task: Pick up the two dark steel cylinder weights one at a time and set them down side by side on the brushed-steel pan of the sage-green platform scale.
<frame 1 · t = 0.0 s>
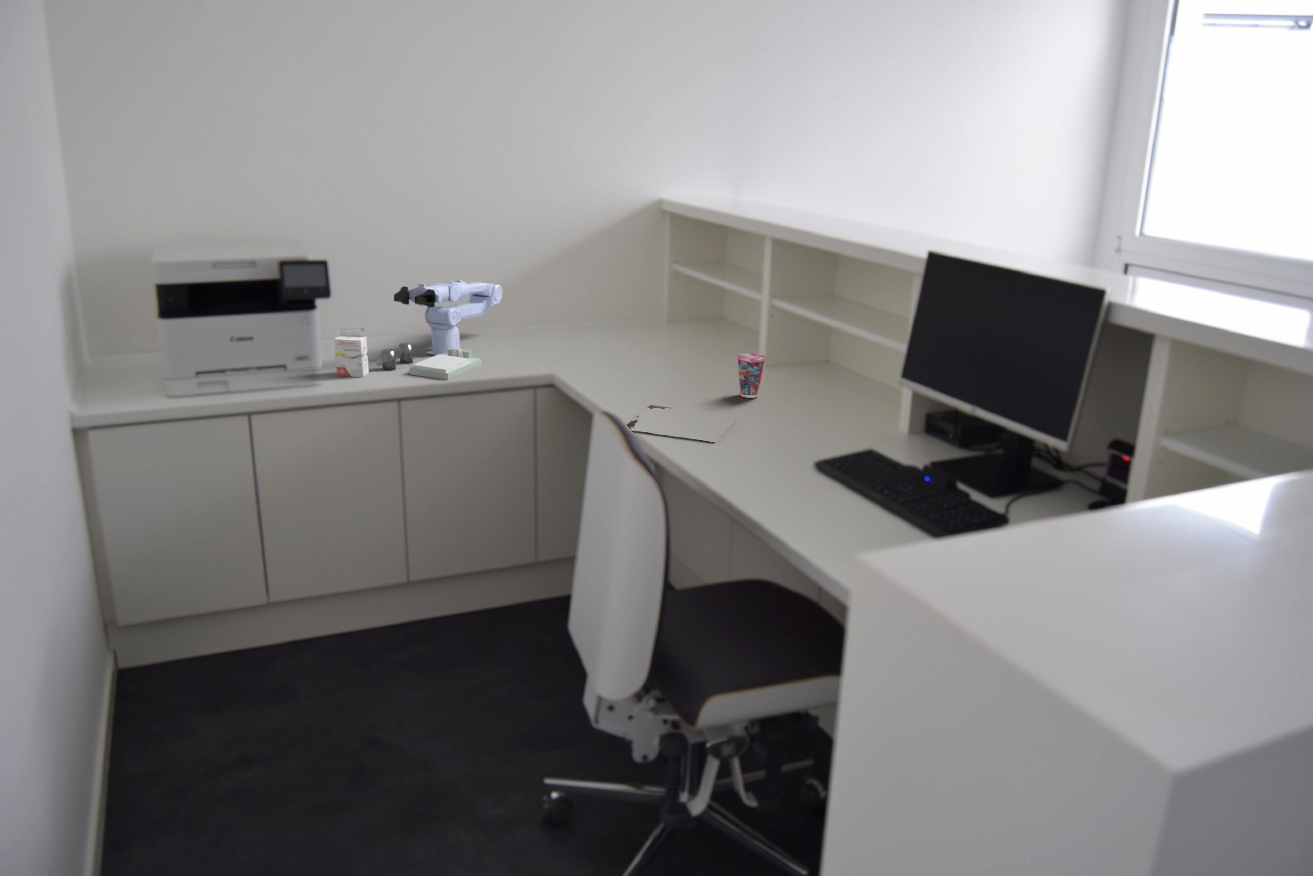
hand: (405, 298, 308), 22 cm above the table, tool horizontal, fingers open, 7 cm apart
weight b: (389, 369, 313), on the table
picture frame: (681, 427, 268), on the table
ink cartridge box: (353, 375, 306), on the table
cup: (749, 397, 294), on the table
scale: (447, 369, 314), on the table
weight a: (406, 362, 321), on the table
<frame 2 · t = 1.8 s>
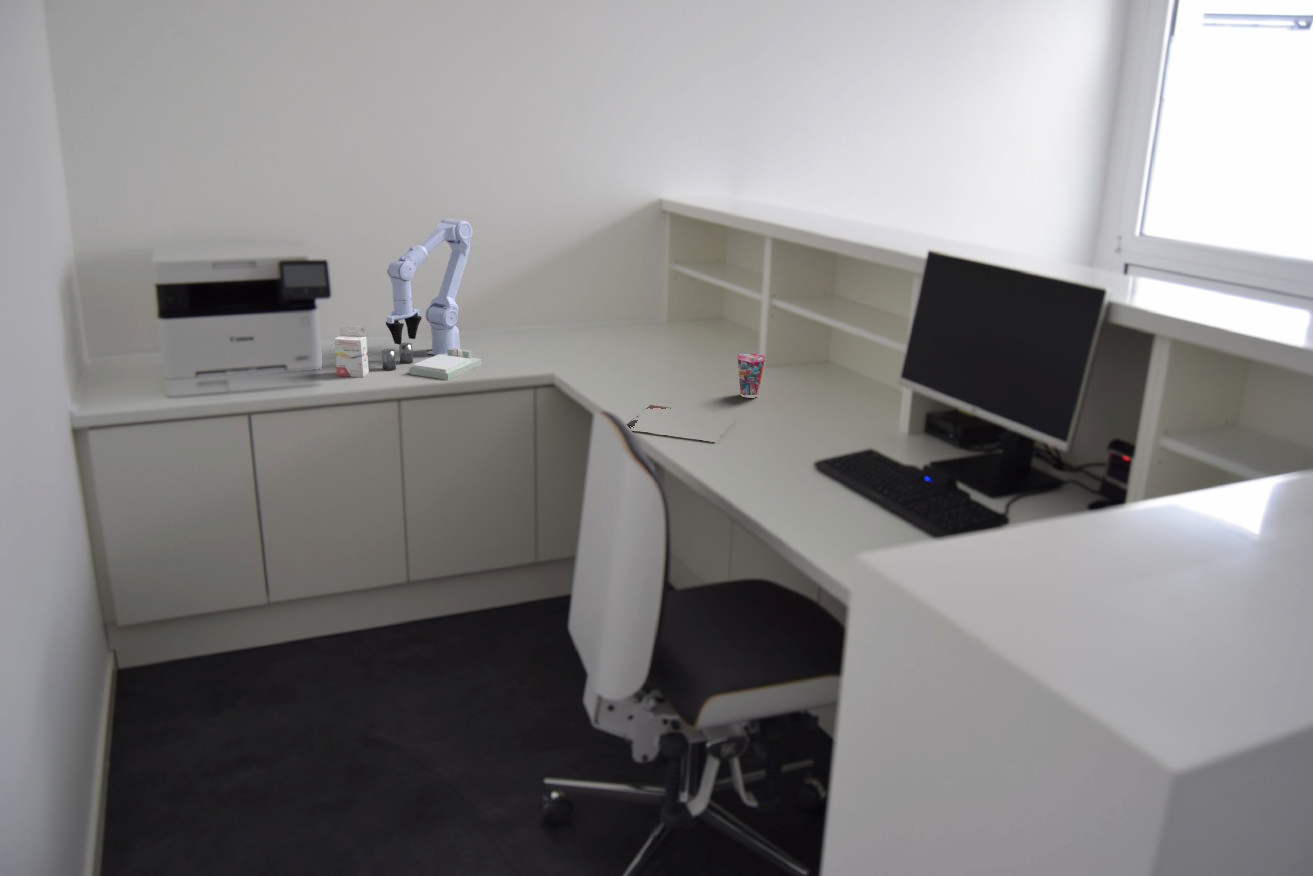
hand: (405, 341, 318), 7 cm above the table, tool pointing down, fingers open, 7 cm apart
nothing on the table moved.
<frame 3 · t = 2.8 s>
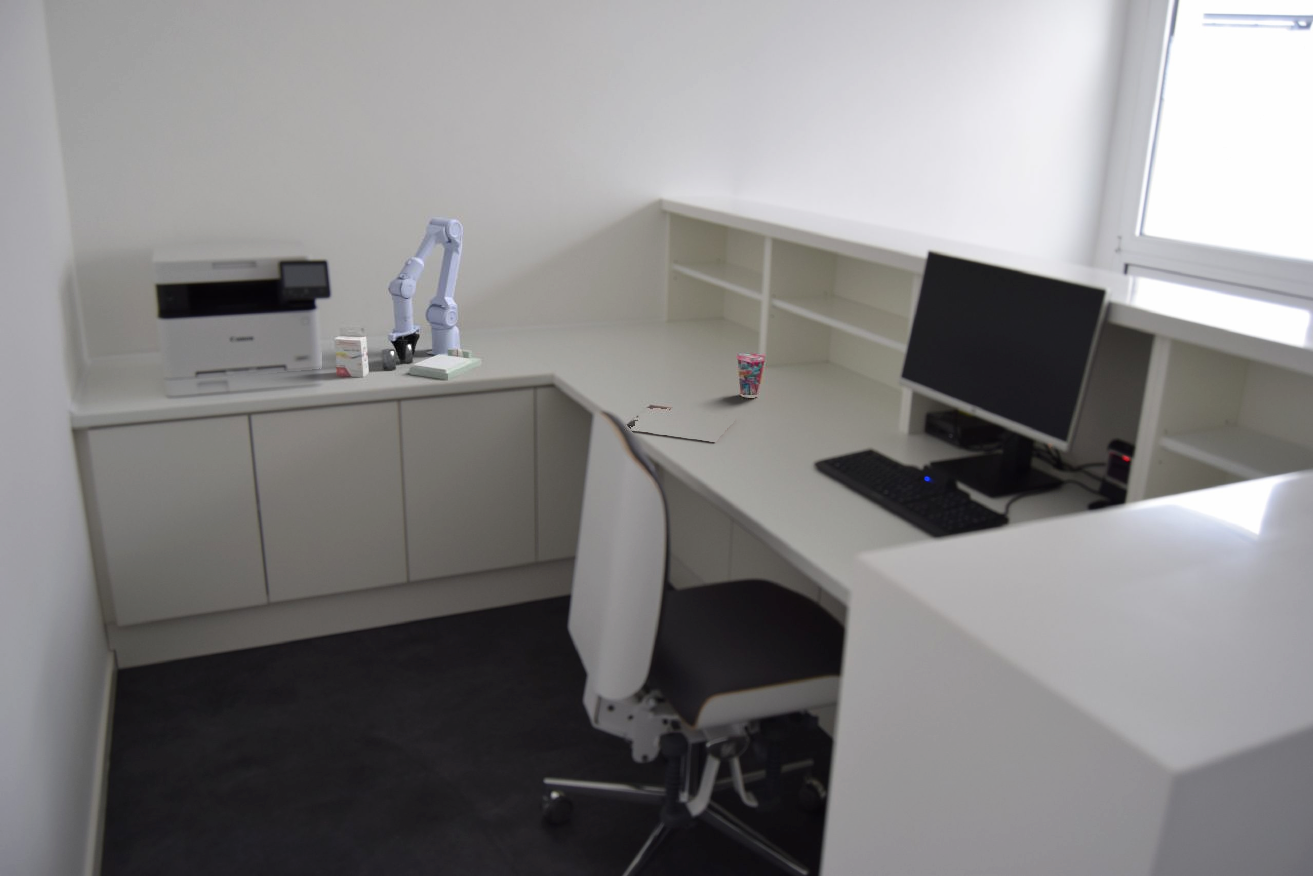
hand: (406, 357, 320), 1 cm above the table, tool pointing down, fingers closed on weight a, 4 cm apart
weight a: (406, 362, 321), on the table, touching gripper
everything else where it was.
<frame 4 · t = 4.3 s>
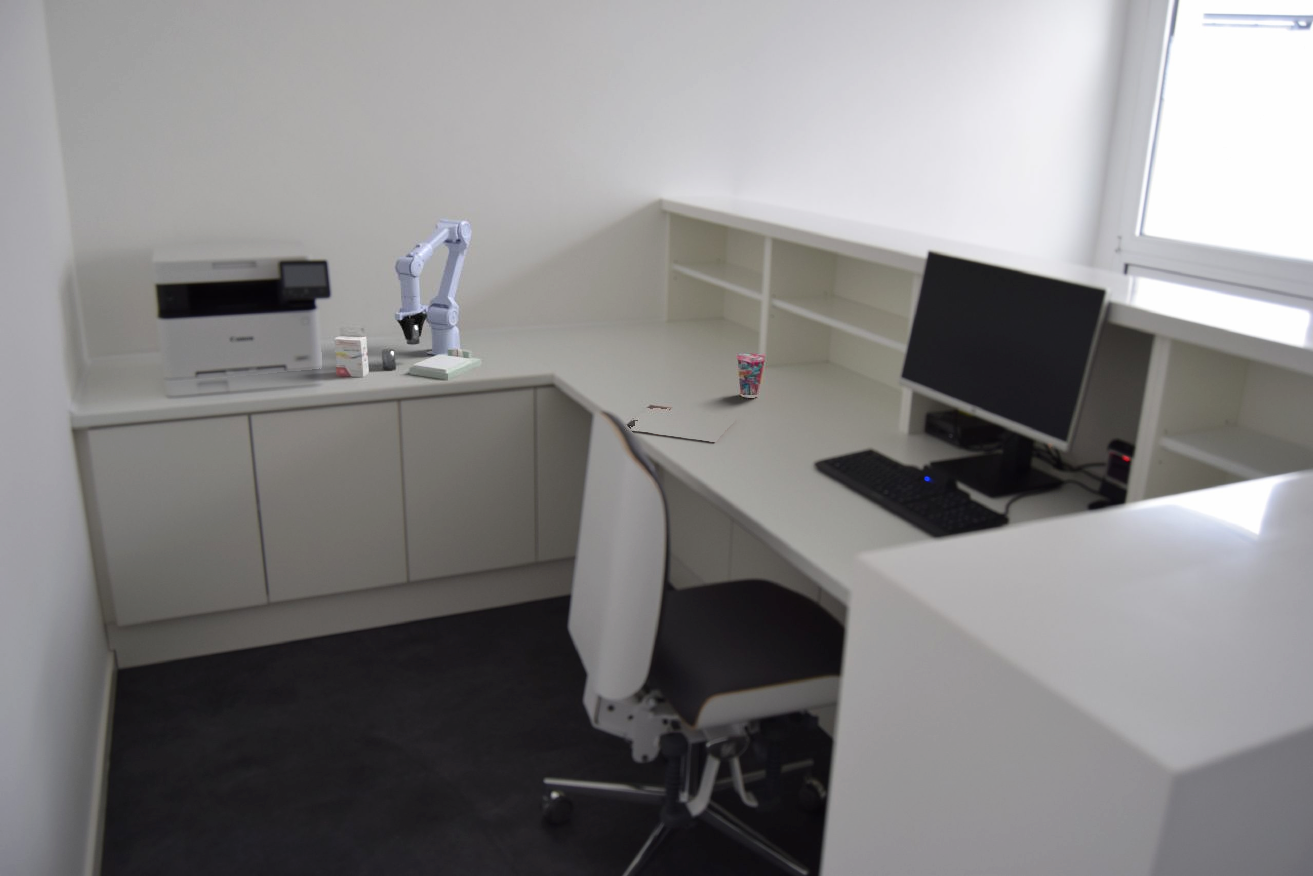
hand: (413, 337, 317), 8 cm above the table, tool pointing down, fingers closed on weight a, 4 cm apart
weight a: (413, 343, 317), point 7 cm above the table, touching gripper
everything else where it was.
when the fingers open (6 cm above the table, at t = 5.9 s): weight a drops 1 cm, resting on scale.
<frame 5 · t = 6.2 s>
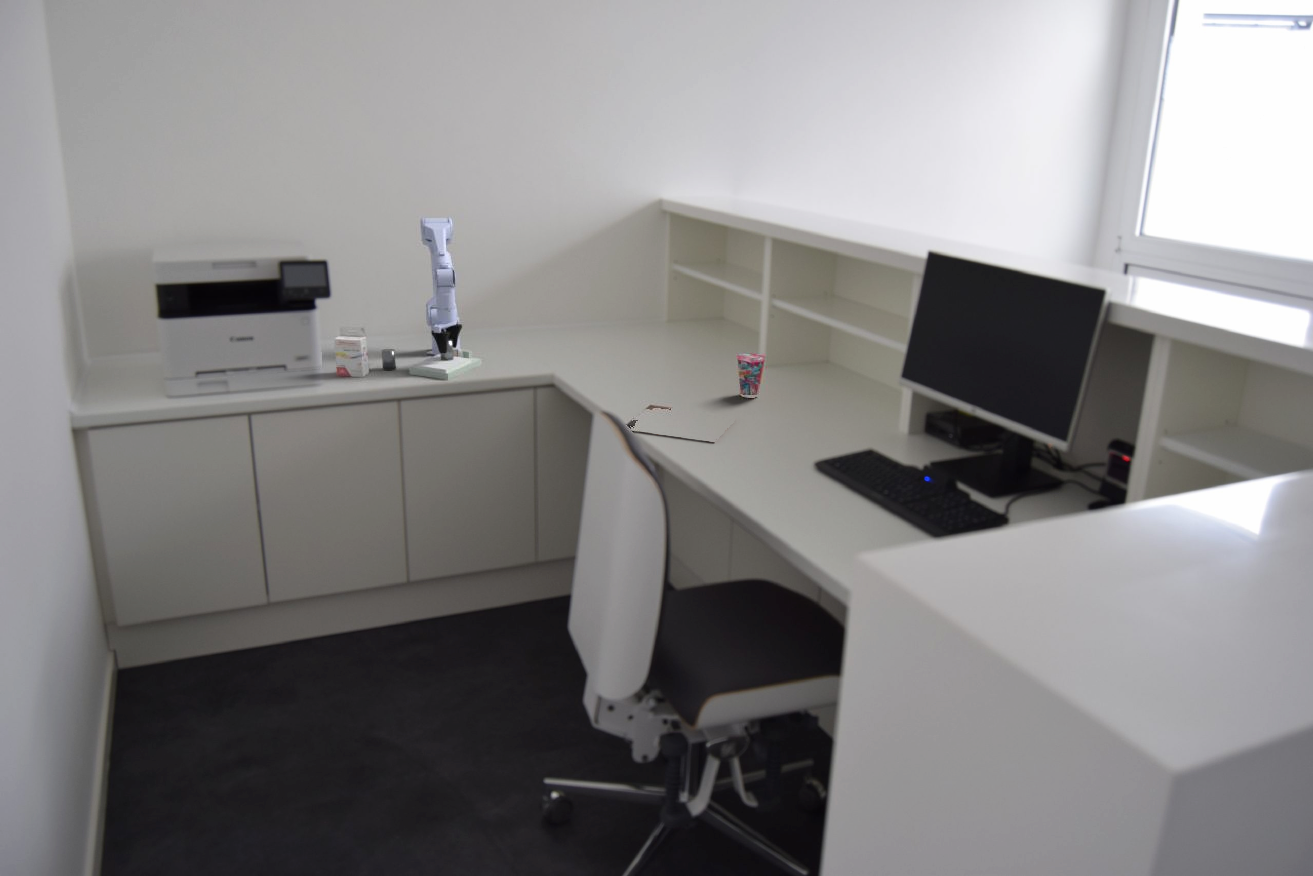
hand: (448, 350, 313), 6 cm above the table, tool pointing down, fingers open, 7 cm apart
weight a: (447, 358, 314), point 3 cm above the table, touching scale
everything else where it was.
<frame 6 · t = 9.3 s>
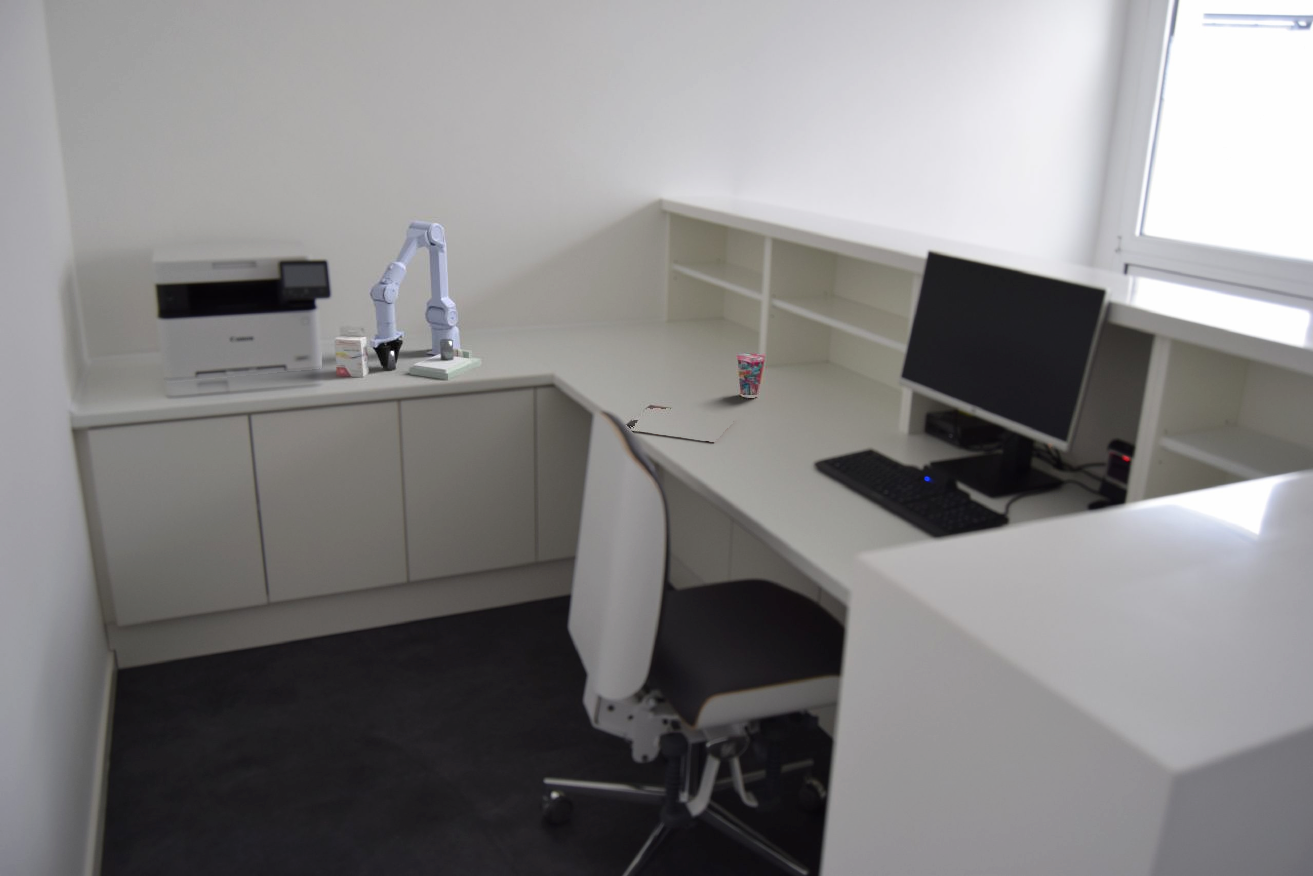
hand: (389, 364, 312), 1 cm above the table, tool pointing down, fingers closed on weight b, 4 cm apart
weight b: (389, 369, 313), on the table, touching gripper
everything else where it was.
when the fingers open (6 cm above the table, at t = 12.2 s): weight b drops 1 cm, resting on scale.
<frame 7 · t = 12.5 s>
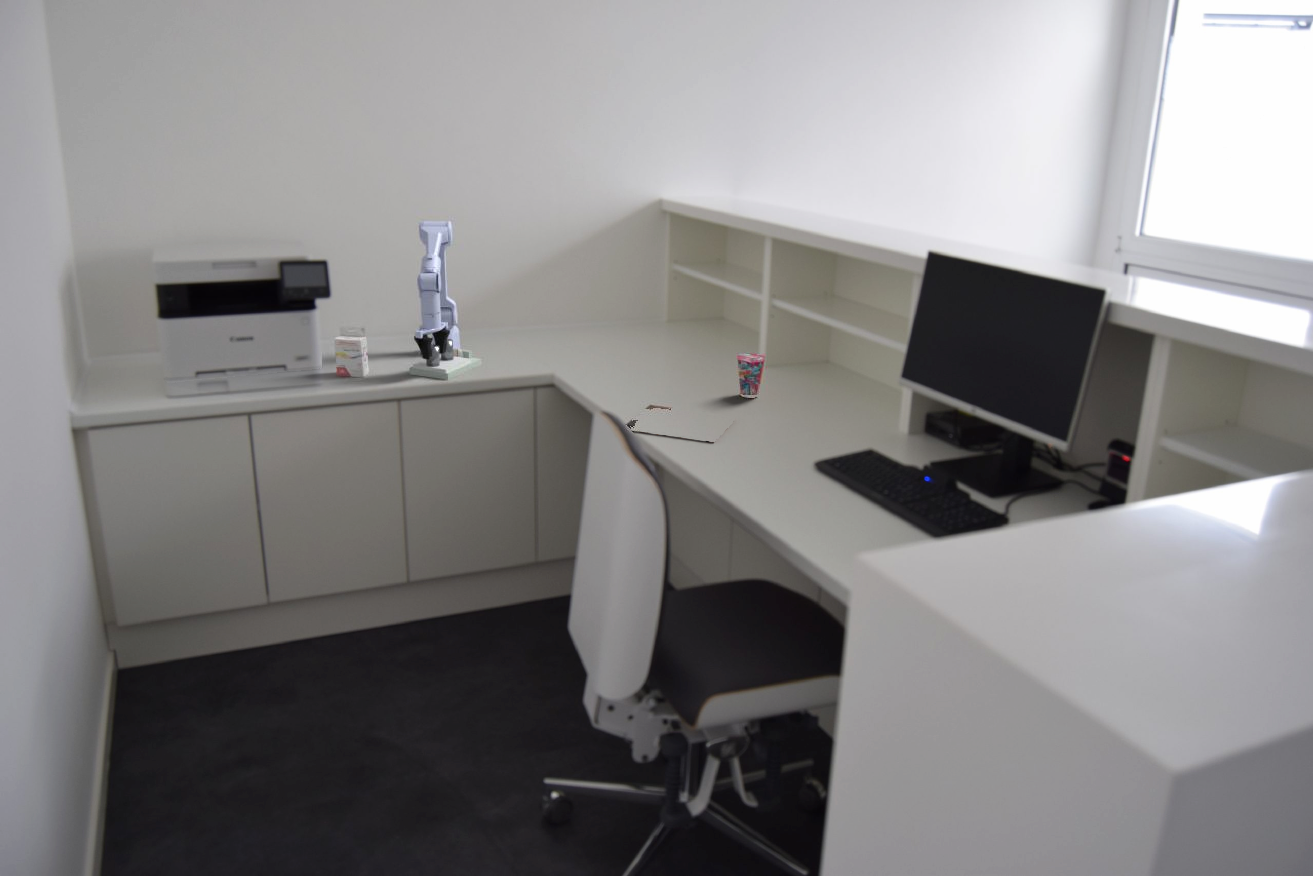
hand: (433, 356, 306), 6 cm above the table, tool pointing down, fingers open, 7 cm apart
weight b: (433, 364, 307), point 3 cm above the table, touching scale
everything else where it was.
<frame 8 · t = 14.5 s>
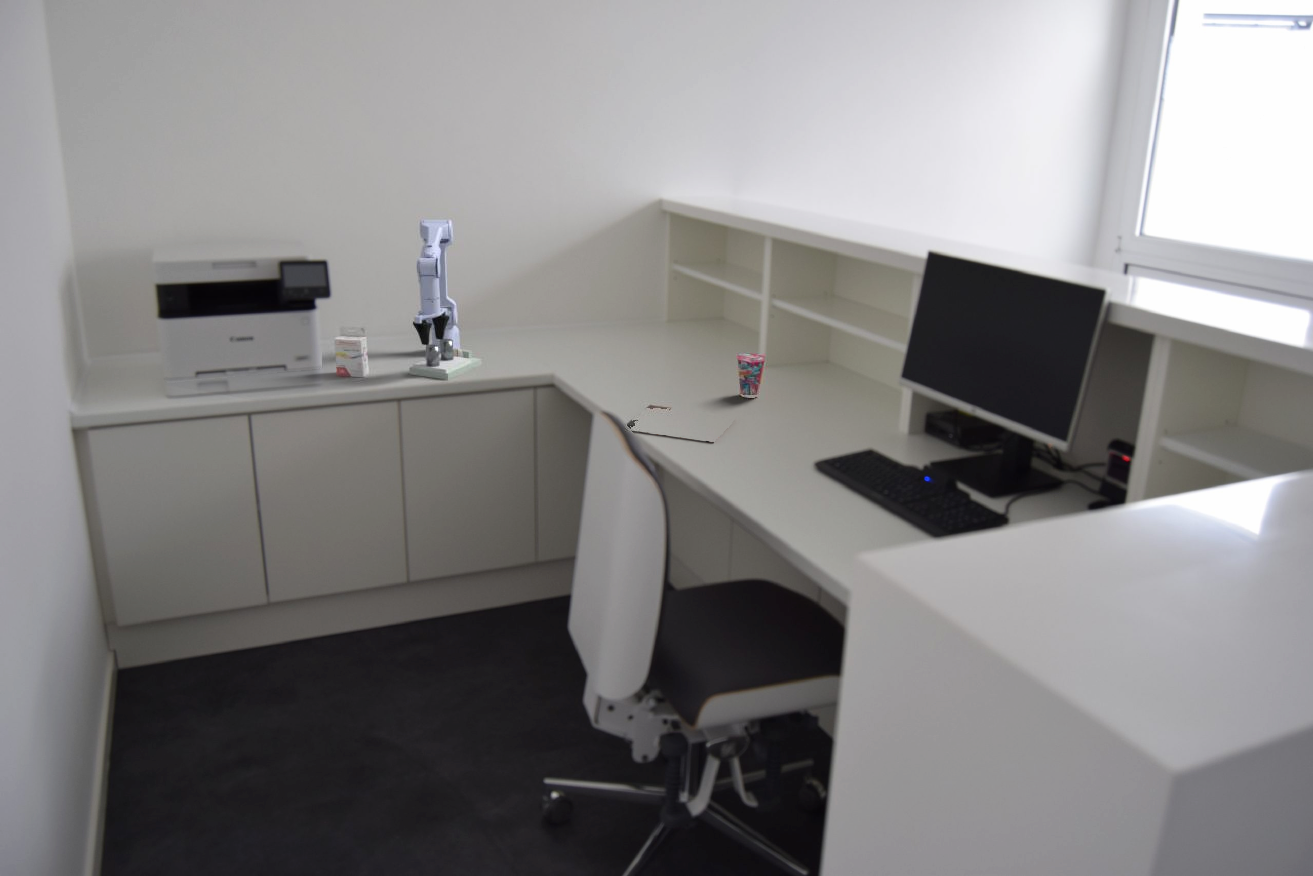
hand: (432, 341, 304), 10 cm above the table, tool pointing down, fingers open, 7 cm apart
nothing on the table moved.
at the end: weight a inside the target area on the scale (3.2 cm from its centre), point 3.0 cm above the scale's base; weight b inside the target area on the scale (4.8 cm from its centre), point 3.1 cm above the scale's base; weight b tilted 2° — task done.
